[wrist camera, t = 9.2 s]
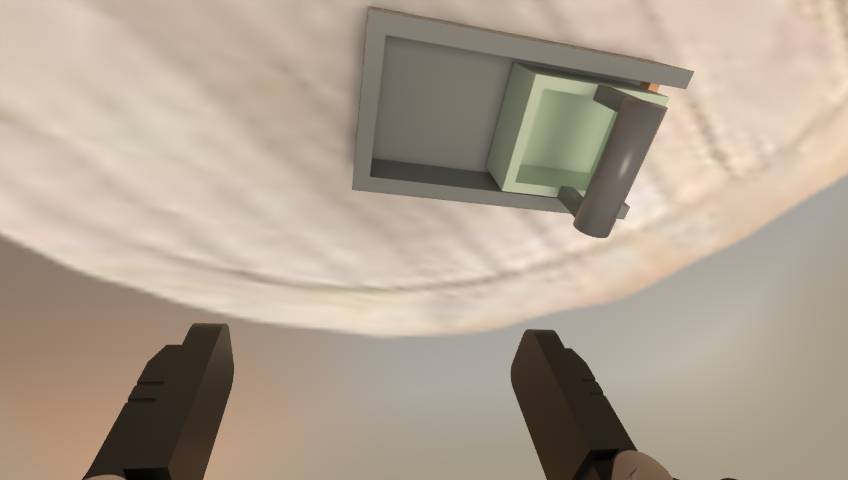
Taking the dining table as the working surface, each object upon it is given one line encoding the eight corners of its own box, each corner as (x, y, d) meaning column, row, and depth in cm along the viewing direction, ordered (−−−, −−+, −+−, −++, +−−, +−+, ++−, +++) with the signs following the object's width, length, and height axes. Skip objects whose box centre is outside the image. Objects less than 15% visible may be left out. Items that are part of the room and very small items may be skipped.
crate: (513, 62, 31) (575, 94, 22) (630, 83, 33) (734, 120, 23) (486, 166, 35) (528, 230, 26) (591, 179, 37) (665, 244, 28)
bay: (368, 6, 29) (368, 9, 25) (652, 60, 33) (694, 71, 29) (354, 165, 35) (352, 189, 31) (596, 194, 39) (623, 219, 35)
